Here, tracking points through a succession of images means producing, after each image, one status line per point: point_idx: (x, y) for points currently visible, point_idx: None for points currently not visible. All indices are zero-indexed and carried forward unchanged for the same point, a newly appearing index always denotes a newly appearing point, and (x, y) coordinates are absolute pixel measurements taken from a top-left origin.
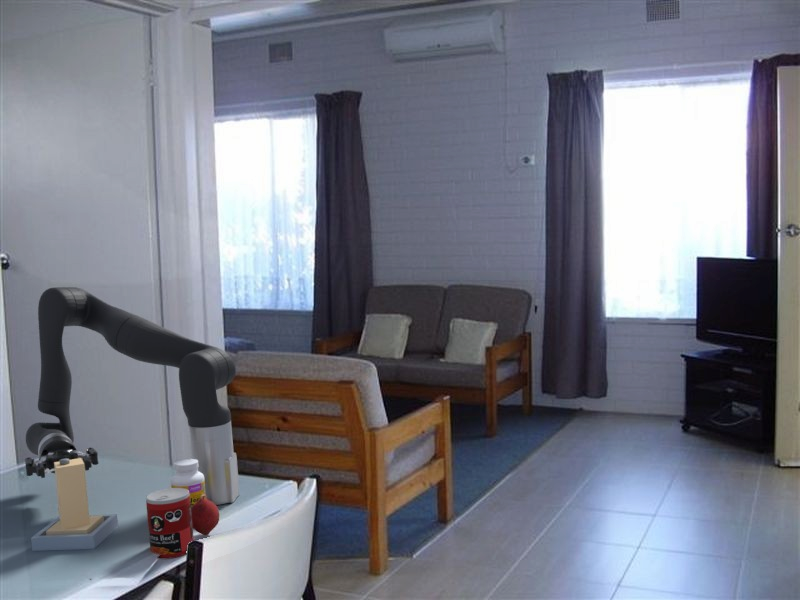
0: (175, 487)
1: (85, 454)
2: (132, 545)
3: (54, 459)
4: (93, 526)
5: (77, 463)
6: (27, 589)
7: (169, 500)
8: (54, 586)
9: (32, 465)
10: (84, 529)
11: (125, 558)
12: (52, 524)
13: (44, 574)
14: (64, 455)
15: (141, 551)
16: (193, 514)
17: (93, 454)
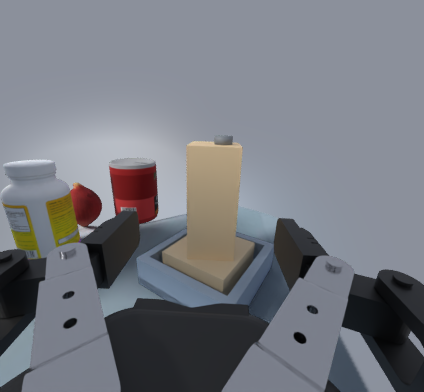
0: (70, 193)
1: (71, 247)
2: (156, 238)
3: (242, 307)
4: None
5: (202, 142)
6: (263, 216)
7: (143, 158)
8: (242, 212)
9: (374, 292)
10: None
11: (177, 222)
12: (246, 272)
13: (251, 227)
14: (149, 351)
15: (158, 225)
16: (98, 197)
17: (25, 255)
